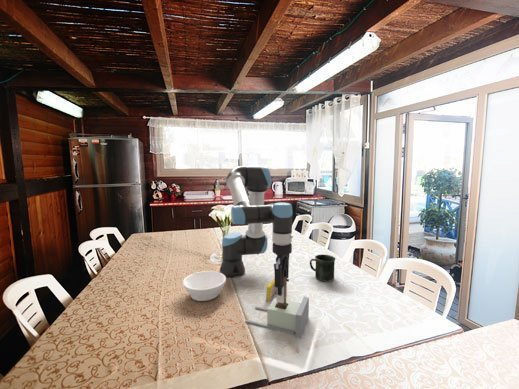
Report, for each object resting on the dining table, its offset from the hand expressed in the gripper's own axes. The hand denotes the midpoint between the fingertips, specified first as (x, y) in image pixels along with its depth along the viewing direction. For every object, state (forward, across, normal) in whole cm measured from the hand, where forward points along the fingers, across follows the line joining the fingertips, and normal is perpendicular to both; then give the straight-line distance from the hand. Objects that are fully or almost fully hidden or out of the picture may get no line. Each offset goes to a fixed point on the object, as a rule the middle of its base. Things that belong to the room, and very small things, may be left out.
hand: (281, 299), depth 103 cm
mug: (+11, +51, -8) cm, 53 cm away
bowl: (+11, +9, +43) cm, 45 cm away
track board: (+11, 0, +3) cm, 11 cm away
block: (+9, 0, -1) cm, 10 cm away
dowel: (+5, 0, 0) cm, 5 cm away
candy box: (+11, +21, +11) cm, 26 cm away
